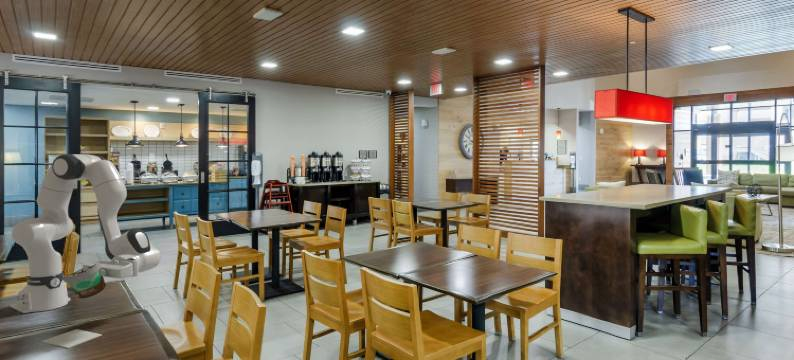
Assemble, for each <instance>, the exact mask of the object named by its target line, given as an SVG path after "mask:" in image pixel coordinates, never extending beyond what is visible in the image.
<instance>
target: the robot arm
mask: <svg viewBox="0 0 794 360" xmlns="http://www.w3.org/2000/svg"><path fill="white" fill-rule="evenodd" d="M86 180H88V181H89V182H90V184H91V187H92V189H93V192H94V194H95V197H96V203H97V205H96V206H97V209H96V210H97V216H98V217H97V218H98V221H99V224H100V227H101V231H102V235H103V237H104V243H105V245H104V247H105V248H104V251H105V255H106V257H107V258H108V259H109V260H110V261H106V260H100V261H93V262H87V263H84V264H83V265H82V269H83V268H87V267H90V266H93V265H95V264H97V263H98V262H100V264H101V265H102V267H101V271H100V272H101V276H103V277H106V278H111V279H125V278H135V277H138V276H139V273H143V272H147V271H150V270H152V269H154V268H156V267H157V266H159V264H160V262H161V259H162V254H161V251H160V250H159V249H158V248H156V247H154V246H153V244H152V243H151V242H150V240H149V237H148V234H147V233H146V232H145V231H143V230H142V229H140V228H137V227H136V228H131V229H129V230H128V231H126V232H124V233H123V234H122V233H121V230H120V226H119V224H118V218H117V217H118V213H119V211H120V208H121V207H122V205H123V203H124V202H125V201H126V199H127V196H128V195H127V194H128V193H127V192H128V191H127V187H126V184H125V182H124V181H123V178H122V176H121V173H120V171H119V170H118V169H117V167H116V166H115V164H113V162H112V161H110V160H108V159H106V158H104V157H103V156H100V155H96V154H94V155H93V154H87V153H79V154H77V153H75V154H74V153H73V154H70V153H65V154H60V155H58V156H56V157H55V158H54V160H53V162H52V163H51V165H50V166H49V167H48V169H47V171H46V173H45V175H44V177H43V179H42V183H41V186H40V188H39V192H38V195H37V198H36V203H37V205H38V206H39V207H40V208H41V215H40V217H33V218H29V219H26V220H24V221H21V222H19V223H16V224H15V225H13V228H12V230H11V237H12V240H13V241H14V243H16V244H18V245H19V246H20V247H22V248H23V250H24V252H25V253H26V255H27V259H28V260H27V261H28V269H29V275H28V276H27V277H26V280H27V282H26V285H25V286H24V287H23V288H22V289H21V290H20V291H19V292H18V293H17V296H16V302H14V303H12V304H10V308H11V309H14V310H16V311H18V312H20V313H22V314H27V313H33V312H44V311H51V310H55V309H58V308H62V307H64V306H66V305H68V303H69V302H70V301H71V297H69V296H68V288H67V282H64V280H63V275H64V272H63V269H62V268H63V266H62V255H61V253H60V252H58V251H56V250H55V249H54V246H53V244H52V242H54V241H57V240H61V239H63V238H65V237H67V236H69V235H70V234H71V233H72V232H73V230H74V223H73V219H71V218H70V216H69V205H70V201H71V198H72V193H73V191H74V188H75V185H76V182H77V181H86Z"/></svg>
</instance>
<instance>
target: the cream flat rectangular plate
mask: <svg viewBox="0 0 794 360" xmlns="http://www.w3.org/2000/svg"><path fill="white" fill-rule="evenodd" d="M102 336H103V334H102V333H101V334H100V333H97V332H93V331H92V332H91V331H87V330H83V329H79V328H76V329H73V330H70V331H67V332H65V333H61V334H59V335H56V336H52V337H49V338H47V339H44V340H41V343H45V344H49V345H53V346H57V347H61V348H66V349H70V348H74V347H76V346H78V345H80V344H83V343H87V342H88V341H91V340H94V339H98V338H99V337H102Z"/></svg>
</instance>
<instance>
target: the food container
mask: <svg viewBox="0 0 794 360" xmlns="http://www.w3.org/2000/svg"><path fill="white" fill-rule="evenodd" d="M97 262H98V261H97ZM101 267H102V265H101V264H100V262H98V263H97V264H95V265H93V266H90V267H87V268H83V267H82V268H80V269H78V270H77V271H75V272H73V273H70V274H68V275H64V274H63V282H64V283H68V285H69V287H70V288H71V290H72V291H73V293H74V294H75V295H76V297H77V298H78V299H88V298H90V297H93V296H95V295H97V294H99V293H101V292H102V291H104V290H105V288H106V286H107V284H106V281H105V279H104V276H101V272H100V271H101Z"/></svg>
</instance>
